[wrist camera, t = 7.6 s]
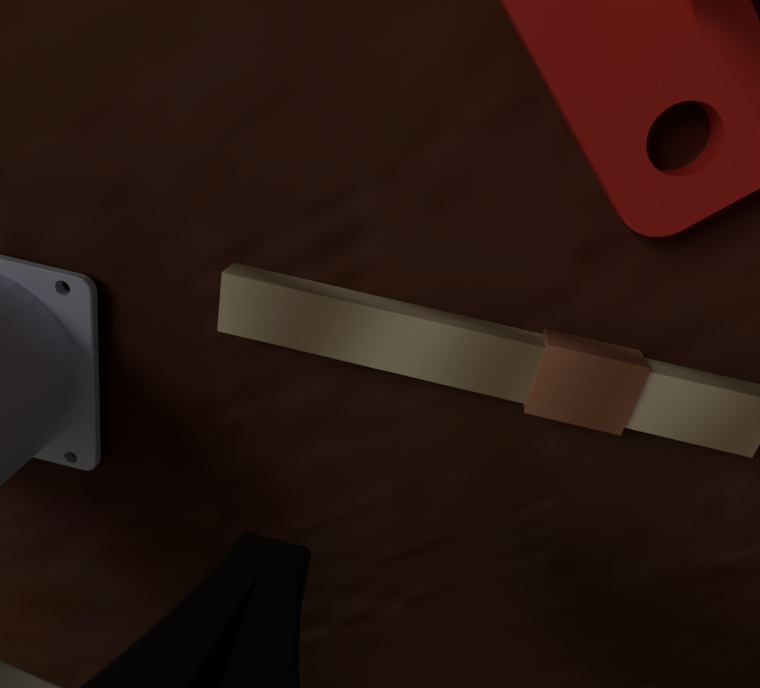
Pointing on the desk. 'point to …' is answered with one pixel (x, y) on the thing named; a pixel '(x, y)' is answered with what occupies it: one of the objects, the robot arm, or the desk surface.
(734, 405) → the guide track
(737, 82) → the bracket
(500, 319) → the desk surface
